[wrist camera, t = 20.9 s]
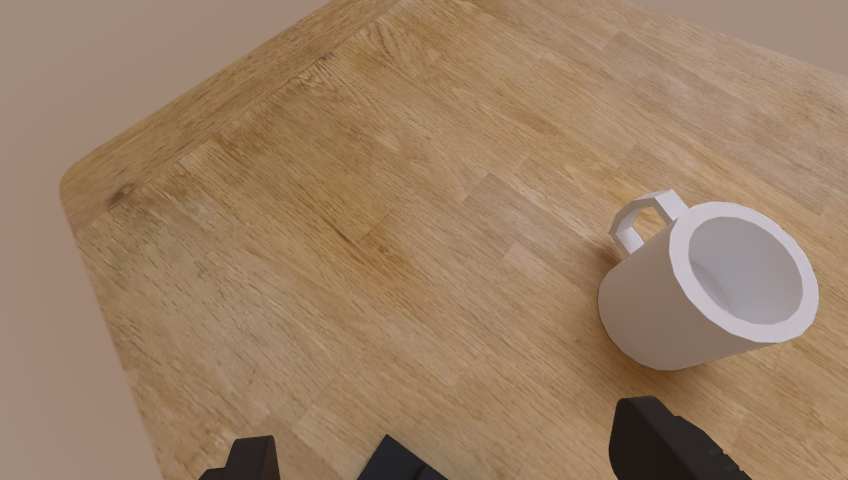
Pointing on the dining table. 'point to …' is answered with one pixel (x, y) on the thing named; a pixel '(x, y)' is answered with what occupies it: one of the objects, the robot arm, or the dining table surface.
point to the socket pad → (397, 464)
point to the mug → (704, 284)
